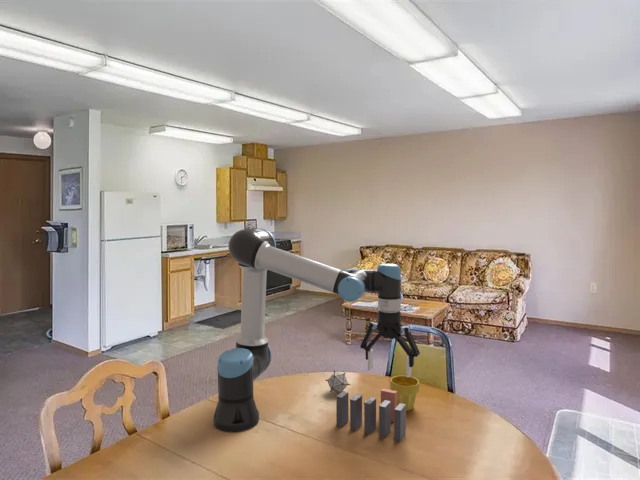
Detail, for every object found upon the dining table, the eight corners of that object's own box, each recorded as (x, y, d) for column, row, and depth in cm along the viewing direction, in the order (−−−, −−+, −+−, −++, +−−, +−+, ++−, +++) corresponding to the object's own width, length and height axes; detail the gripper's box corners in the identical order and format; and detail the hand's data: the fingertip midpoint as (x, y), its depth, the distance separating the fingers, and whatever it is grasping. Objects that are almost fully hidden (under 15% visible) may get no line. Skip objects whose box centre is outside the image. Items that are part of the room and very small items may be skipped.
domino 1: (336, 425, 150) (336, 396, 150) (343, 419, 155) (343, 390, 154) (341, 427, 149) (341, 397, 149) (348, 420, 154) (348, 392, 153)
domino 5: (378, 436, 143) (379, 405, 142) (384, 429, 147) (384, 399, 147) (384, 438, 142) (385, 407, 141) (390, 431, 146) (390, 401, 146)
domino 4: (394, 422, 152) (394, 393, 152) (380, 418, 155) (380, 390, 154) (396, 419, 154) (396, 391, 154) (382, 416, 157) (382, 388, 156)
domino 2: (350, 429, 148) (350, 399, 147) (356, 422, 152) (356, 393, 151) (355, 430, 147) (355, 400, 146) (362, 424, 151) (362, 395, 151)
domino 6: (394, 440, 141) (394, 409, 140) (399, 433, 145) (399, 403, 144) (400, 442, 140) (400, 410, 139) (405, 435, 144) (405, 404, 143)
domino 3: (364, 432, 145) (364, 402, 145) (370, 426, 150) (370, 396, 149) (370, 434, 144) (370, 403, 144) (376, 427, 149) (376, 398, 148)
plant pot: (424, 410, 161) (425, 383, 161) (399, 415, 158) (399, 387, 157) (408, 398, 171) (409, 373, 170) (384, 403, 167) (384, 377, 166)
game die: (342, 400, 178) (358, 381, 178) (332, 400, 172) (348, 380, 171) (327, 384, 184) (343, 365, 183) (317, 383, 177) (332, 363, 176)
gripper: (350, 308, 155) (350, 369, 156) (422, 316, 142) (422, 382, 144) (359, 304, 161) (360, 363, 163) (429, 311, 149) (429, 375, 150)
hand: (389, 372), depth 153 cm, fingers open, 13 cm apart
